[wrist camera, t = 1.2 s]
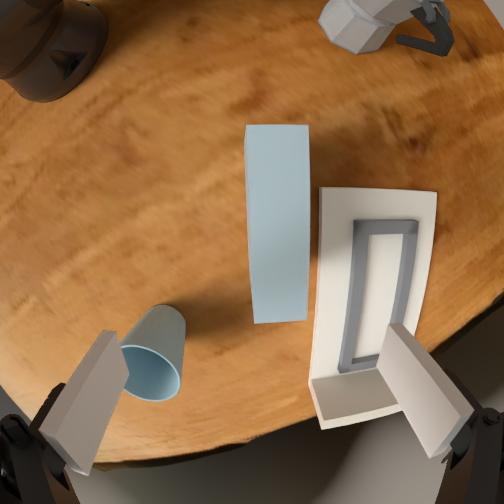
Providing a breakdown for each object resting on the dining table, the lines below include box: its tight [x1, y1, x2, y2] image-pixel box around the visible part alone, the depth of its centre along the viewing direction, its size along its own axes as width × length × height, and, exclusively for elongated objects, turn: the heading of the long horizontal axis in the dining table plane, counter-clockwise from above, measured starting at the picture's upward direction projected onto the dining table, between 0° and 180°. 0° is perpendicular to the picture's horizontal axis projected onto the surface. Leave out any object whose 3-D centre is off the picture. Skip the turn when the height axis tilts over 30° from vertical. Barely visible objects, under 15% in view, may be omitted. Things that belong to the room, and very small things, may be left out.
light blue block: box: [244, 125, 310, 324], centre depth 24 cm, size 14×4×12 cm, turn 2°
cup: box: [120, 305, 186, 401], centre depth 29 cm, size 8×8×10 cm
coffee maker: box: [318, 0, 454, 57], centre depth 15 cm, size 15×9×18 cm, turn 25°
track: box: [308, 187, 437, 429], centre depth 29 cm, size 28×16×9 cm, turn 2°
